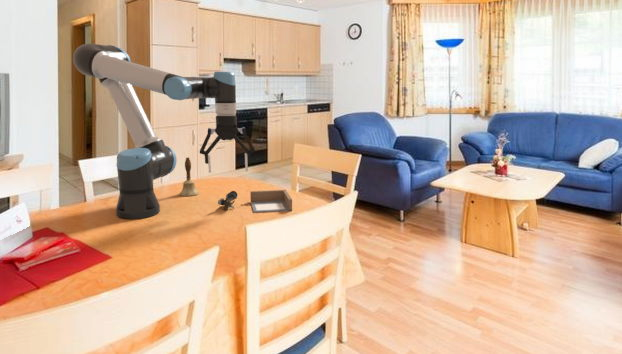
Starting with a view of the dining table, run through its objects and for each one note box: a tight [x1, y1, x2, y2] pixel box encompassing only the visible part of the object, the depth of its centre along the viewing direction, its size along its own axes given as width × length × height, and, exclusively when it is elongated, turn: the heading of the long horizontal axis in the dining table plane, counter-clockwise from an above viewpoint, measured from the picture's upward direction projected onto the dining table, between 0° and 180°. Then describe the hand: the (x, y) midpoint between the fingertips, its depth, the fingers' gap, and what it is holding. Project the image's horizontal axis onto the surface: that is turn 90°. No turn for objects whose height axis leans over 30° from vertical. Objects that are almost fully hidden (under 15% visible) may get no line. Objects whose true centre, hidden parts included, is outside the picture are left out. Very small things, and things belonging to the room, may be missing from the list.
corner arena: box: [249, 189, 293, 214], centre depth 171 cm, size 14×15×4 cm
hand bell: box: [179, 157, 200, 197], centre depth 187 cm, size 8×8×16 cm
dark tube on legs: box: [217, 190, 238, 212], centre depth 167 cm, size 8×7×9 cm
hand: (228, 171), depth 164 cm, fingers open, 13 cm apart
